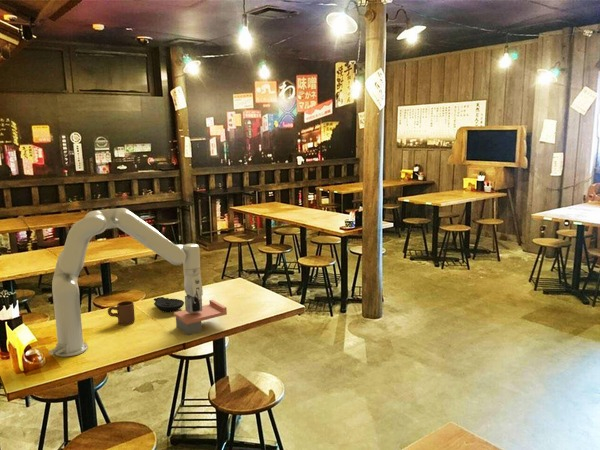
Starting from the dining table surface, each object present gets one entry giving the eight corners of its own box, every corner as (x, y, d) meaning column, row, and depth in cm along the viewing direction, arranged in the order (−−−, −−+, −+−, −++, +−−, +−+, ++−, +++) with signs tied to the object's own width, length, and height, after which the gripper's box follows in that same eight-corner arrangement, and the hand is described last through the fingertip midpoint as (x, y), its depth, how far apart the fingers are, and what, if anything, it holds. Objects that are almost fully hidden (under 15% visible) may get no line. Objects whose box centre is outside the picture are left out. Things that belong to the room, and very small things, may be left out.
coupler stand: (187, 336, 220) (186, 317, 218) (174, 326, 231) (173, 308, 229) (227, 325, 232) (226, 307, 230) (213, 317, 243) (212, 299, 241)
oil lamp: (171, 301, 266) (171, 292, 265) (190, 311, 252) (189, 301, 251) (145, 308, 257) (144, 299, 256) (163, 318, 242) (162, 308, 241)
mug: (111, 328, 230) (109, 309, 228) (106, 323, 236) (105, 304, 234) (137, 322, 236) (135, 304, 235) (132, 318, 243) (130, 299, 241)
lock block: (190, 313, 224) (189, 298, 223) (185, 310, 228) (184, 296, 227) (202, 310, 228) (202, 296, 227) (197, 307, 232) (197, 293, 231)
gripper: (208, 273, 220) (209, 312, 224) (191, 265, 234) (193, 302, 237) (192, 276, 216) (194, 316, 219) (176, 268, 229) (178, 306, 232)
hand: (193, 308), depth 228 cm, fingers closed on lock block, 5 cm apart
